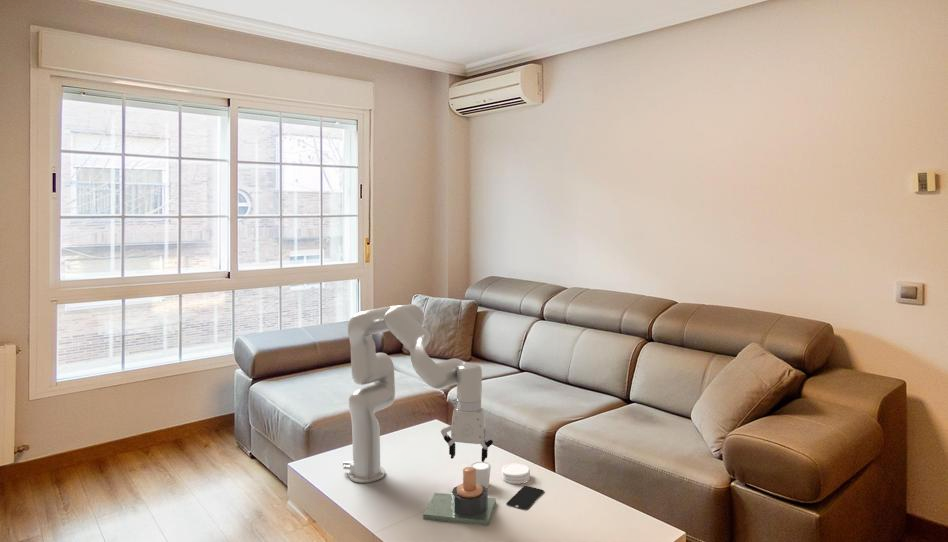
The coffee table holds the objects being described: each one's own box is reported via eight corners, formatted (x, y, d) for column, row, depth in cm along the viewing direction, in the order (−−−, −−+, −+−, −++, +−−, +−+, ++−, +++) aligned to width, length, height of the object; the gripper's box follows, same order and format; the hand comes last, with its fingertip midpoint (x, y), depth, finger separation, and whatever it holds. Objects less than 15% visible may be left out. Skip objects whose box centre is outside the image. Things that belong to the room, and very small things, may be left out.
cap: (454, 505, 176) (453, 474, 175) (459, 493, 184) (459, 463, 183) (479, 508, 175) (479, 476, 174) (484, 495, 183) (484, 465, 182)
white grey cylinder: (488, 491, 193) (488, 470, 193) (468, 489, 195) (468, 469, 194) (492, 481, 200) (492, 462, 199) (472, 480, 201) (472, 460, 201)
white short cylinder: (531, 473, 207) (531, 464, 206) (528, 486, 197) (528, 476, 197) (504, 471, 209) (504, 461, 209) (499, 483, 199) (499, 473, 199)
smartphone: (504, 504, 184) (524, 484, 197) (504, 506, 184) (524, 487, 197) (526, 510, 180) (545, 490, 193) (526, 512, 180) (545, 492, 193)
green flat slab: (423, 519, 176) (422, 498, 175) (435, 497, 189) (435, 478, 189) (488, 525, 172) (488, 504, 171) (495, 502, 185) (495, 483, 185)
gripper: (438, 406, 175) (437, 460, 177) (495, 411, 171) (493, 466, 173) (444, 398, 182) (444, 450, 184) (498, 402, 179) (497, 456, 181)
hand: (468, 458), depth 179 cm, fingers open, 9 cm apart
